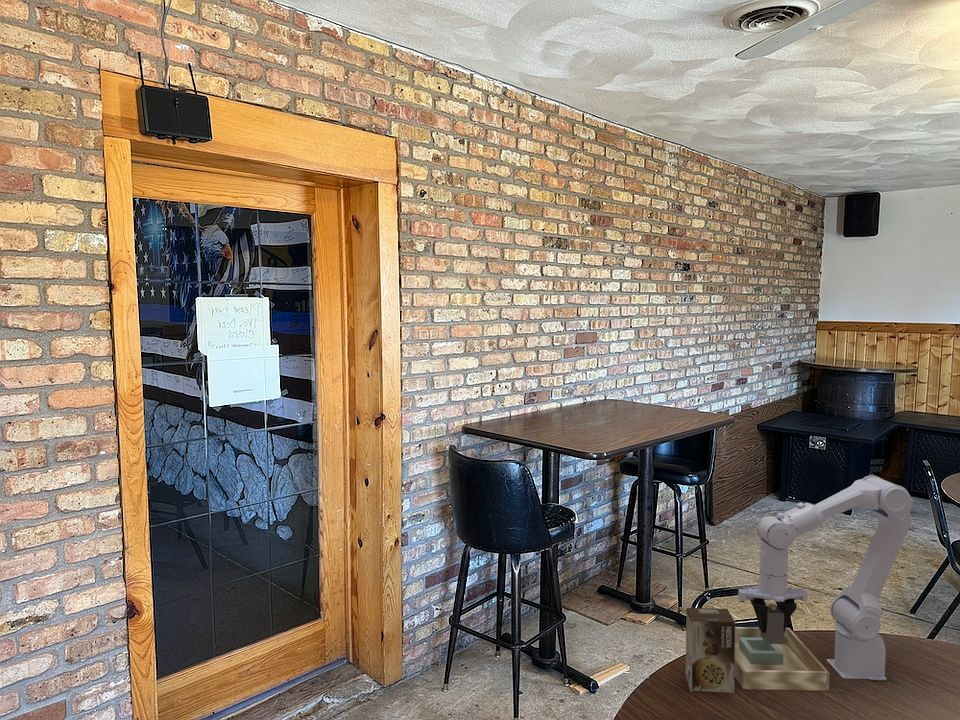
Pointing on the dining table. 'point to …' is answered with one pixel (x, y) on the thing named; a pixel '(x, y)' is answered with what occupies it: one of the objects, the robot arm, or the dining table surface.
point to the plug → (774, 626)
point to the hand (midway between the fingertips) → (771, 630)
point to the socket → (760, 657)
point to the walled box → (780, 666)
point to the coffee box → (710, 650)
